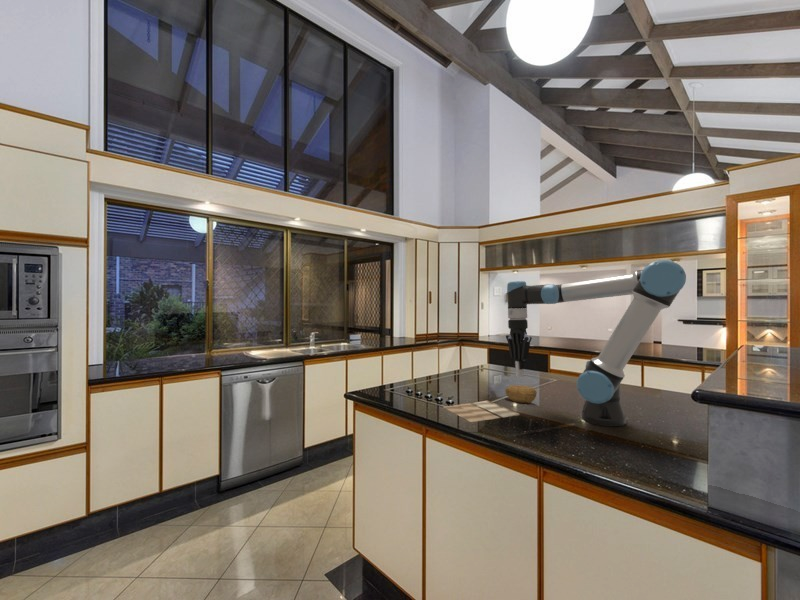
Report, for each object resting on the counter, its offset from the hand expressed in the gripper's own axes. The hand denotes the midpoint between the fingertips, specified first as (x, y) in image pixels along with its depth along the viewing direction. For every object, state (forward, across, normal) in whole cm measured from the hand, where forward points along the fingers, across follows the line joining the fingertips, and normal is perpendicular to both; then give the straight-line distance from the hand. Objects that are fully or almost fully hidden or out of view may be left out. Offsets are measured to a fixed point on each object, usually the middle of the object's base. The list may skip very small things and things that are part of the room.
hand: (519, 376), depth 151 cm
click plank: (+15, -9, -6) cm, 19 cm away
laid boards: (+15, -9, -18) cm, 26 cm away
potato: (+16, -15, +13) cm, 25 cm away
